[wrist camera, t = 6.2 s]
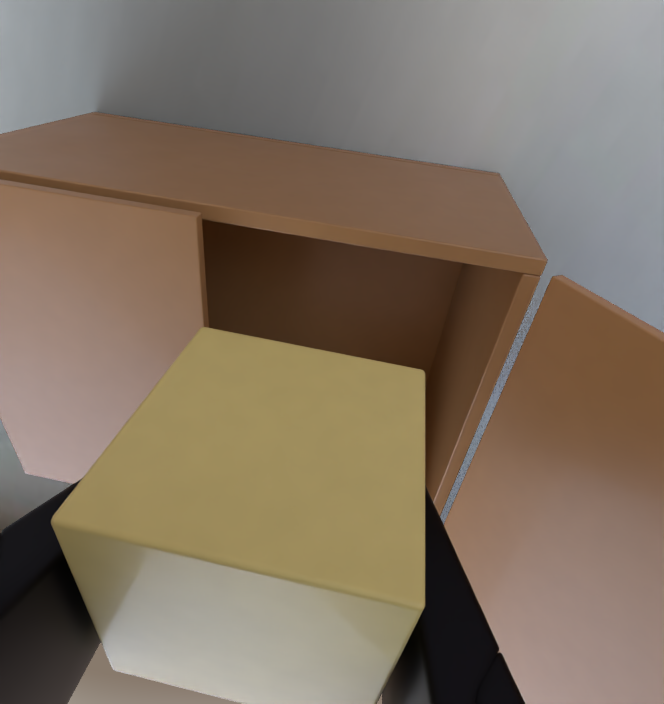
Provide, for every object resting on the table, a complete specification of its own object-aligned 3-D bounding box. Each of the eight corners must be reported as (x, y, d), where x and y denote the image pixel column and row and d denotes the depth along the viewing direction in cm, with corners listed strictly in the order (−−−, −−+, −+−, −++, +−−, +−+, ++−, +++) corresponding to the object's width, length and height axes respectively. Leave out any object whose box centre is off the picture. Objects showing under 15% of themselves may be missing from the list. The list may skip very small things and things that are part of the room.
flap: (551, 275, 9) (562, 273, 9) (427, 559, 15) (434, 556, 15) (1197, 652, 4) (1201, 637, 4) (613, 845, 10) (621, 837, 10)
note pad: (426, 368, 9) (427, 609, 5) (383, 510, 11) (362, 736, 8) (201, 324, 9) (45, 519, 5) (210, 471, 12) (110, 671, 8)
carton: (500, 173, 15) (557, 274, 9) (427, 403, 22) (429, 561, 15) (93, 111, 16) (-121, 161, 10) (137, 348, 23) (23, 474, 16)
